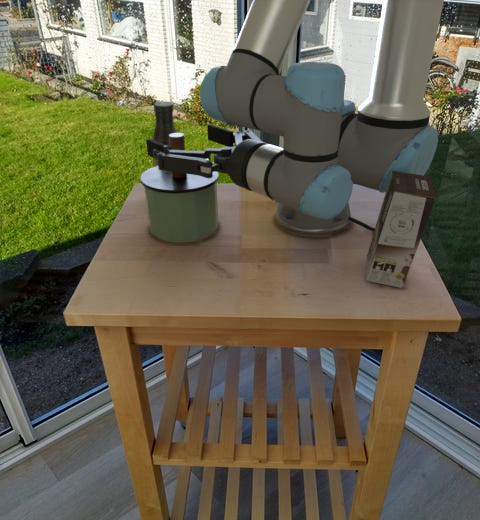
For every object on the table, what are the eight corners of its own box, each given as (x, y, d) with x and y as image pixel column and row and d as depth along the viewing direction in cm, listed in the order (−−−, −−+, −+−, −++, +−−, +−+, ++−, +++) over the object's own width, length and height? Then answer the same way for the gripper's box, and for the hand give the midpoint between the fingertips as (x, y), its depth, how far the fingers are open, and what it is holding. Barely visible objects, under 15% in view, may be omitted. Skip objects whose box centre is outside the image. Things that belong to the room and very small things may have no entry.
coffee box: (403, 289, 82) (437, 199, 72) (364, 281, 83) (393, 190, 73) (401, 261, 89) (432, 175, 79) (366, 254, 90) (392, 168, 80)
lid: (223, 169, 100) (222, 124, 95) (212, 198, 88) (210, 148, 83) (152, 167, 101) (147, 123, 96) (131, 195, 90) (124, 146, 84)
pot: (221, 215, 106) (220, 167, 99) (212, 245, 95) (209, 193, 88) (159, 213, 107) (154, 165, 100) (142, 242, 96) (135, 190, 90)
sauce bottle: (150, 194, 115) (139, 104, 103) (168, 186, 119) (159, 98, 107) (171, 201, 112) (163, 108, 100) (189, 192, 116) (182, 102, 104)
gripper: (199, 213, 73) (123, 176, 85) (312, 173, 86) (231, 145, 99) (196, 162, 68) (116, 131, 81) (316, 128, 82) (231, 106, 94)
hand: (180, 139), depth 90 cm, fingers open, 13 cm apart
